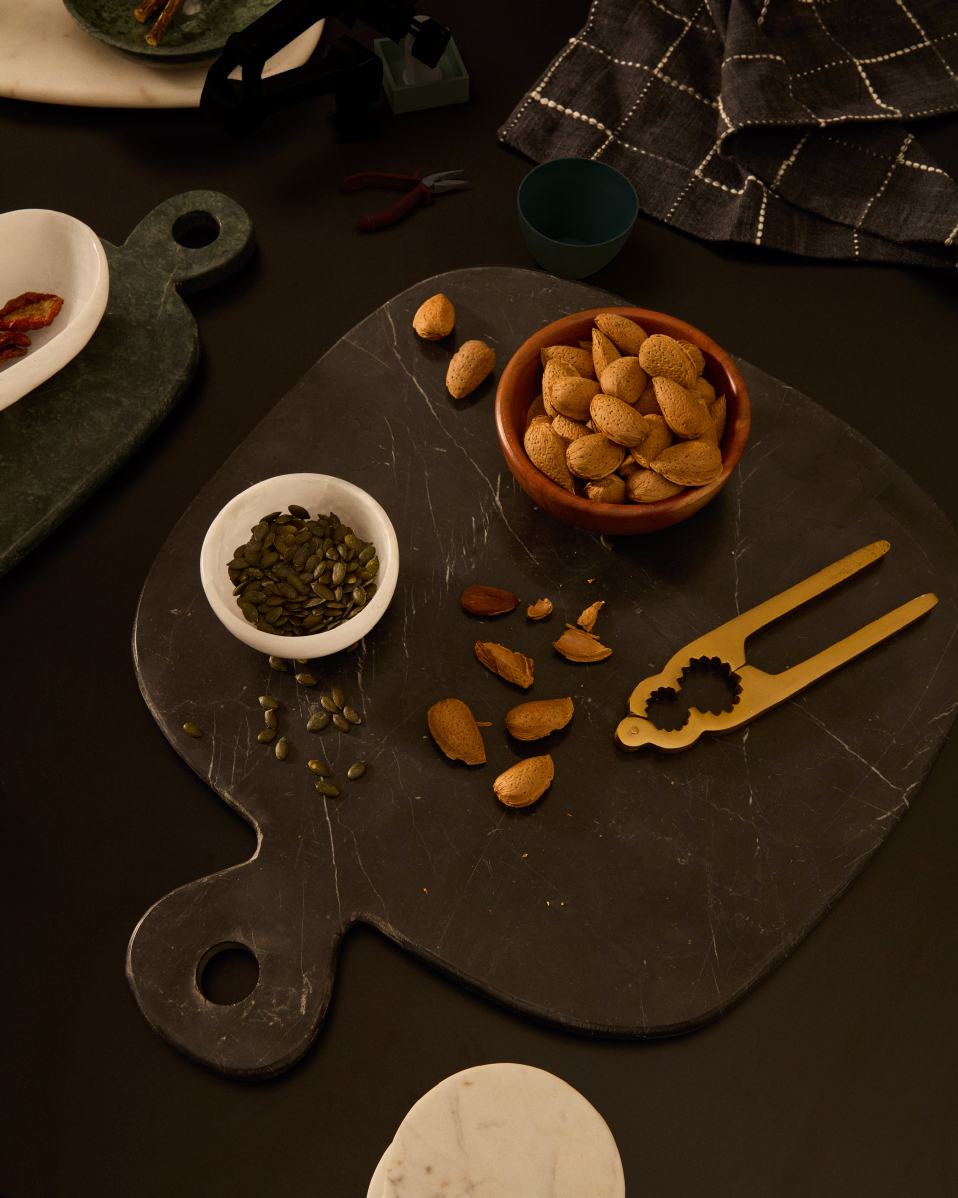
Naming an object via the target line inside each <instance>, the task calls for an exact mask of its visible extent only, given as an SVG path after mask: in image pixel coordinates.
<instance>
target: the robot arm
mask: <svg viewBox="0 0 958 1198" xmlns="http://www.w3.org/2000/svg"><path fill="white" fill-rule="evenodd" d="M418 2H419V0H280V1H279V2H278V3H276V4H275V5H274V6H272V7H270V8H269V9H268V10H267V11H265V12H264V13H263V14H262V15H260V16H259V17H258V18H256V19H255V20H254V21H252V22H251V23H250V24H249V25H247V26H246V27H245V28H243V29H242V30H241V31H234V32H232V33H230V34H229V36H227V39H226V41H225V44H224V47H223V50H222V53H221V55H220V56H218V58H217V59H216V60H215V61H214V62H213V64H211V66H209V68H208V70H207V73H206V77H205V80H204V84H203V87H202V90H201V92H200V97H199V111H200V113H201V114H202V116H204V118H206V119H207V120H208V121H210V122H211V123H212V124H213V125H215V126H216V127H217V128H218V129H220V130H221V131H222V132H223V133H225V134H226V135H227V136H229V137H230V138H231V139H233V140H242V139H245V138H247V137H248V136H250V135H252V134H253V133H255V132H257V131H258V130H260V129H261V128H262V126H263V124H264V123H265V121H266V119H267V117H268V116H270V115H272V114H275V113H278V112H281V111H284V110H287V109H290V108H292V107H294V106H298V105H300V104H303V103H306V102H309V101H312V100H314V99H317V98H320V97H322V96H325V95H329V94H333V95H334V102H335V110H336V112H335V113H333V114H332V119H333V120H332V121H333V122H334V126H335V129H336V132H337V134H338V138H339V140H340V141H341V142H346V141H352V140H358V139H363V138H368V137H374V136H377V135H378V130H377V127H376V124H375V121H374V119H373V116H372V112H371V106H372V105H374V104H375V103H377V102H378V101H380V96H381V90H382V86H383V83H382V80H383V75H384V71H383V69H384V68H383V61H382V59H381V58H380V57H379V56H378V55H376V54H375V51H373V50H371V49H370V48H368V47H367V46H365V45H364V44H363V43H361V42H360V41H358V39H355V38H354V37H352V36H349V35H347V34H346V33H344V34H343V35H341V36H340V37H338V38H332V39H331V38H330V39H329V40H328V44H327V45H328V49H327V50H326V52H325V54H324V56H323V57H322V58H320V59H317V60H313V61H311V62H308V63H305V64H301V65H298V66H296V67H293V68H290V69H286V70H283V71H281V72H278V73H275V74H272V75H269V76H266V77H263V78H262V75H263V72H264V68H265V66H266V62H268V61H269V60H270V59H272V58H273V57H275V55H276V54H278V53H279V52H281V50H283V49H284V48H286V47H287V46H288V45H289V44H291V43H292V42H293V41H295V40H296V39H297V38H299V37H300V36H301V35H302V34H304V33H305V32H306V31H308V30H309V29H311V28H312V27H313V26H314V25H315V24H317V23H318V22H320V21H322V20H324V19H336V20H337V21H338V22H339V23H341V24H342V25H344V26H345V27H346V28H348V29H349V30H353V28H354V27H355V24H356V22H357V20H359V21H360V22H362V23H363V24H364V25H366V26H368V27H371V28H372V29H374V30H375V31H376V32H378V33H379V34H380V35H382V36H385V38H389V39H391V40H392V41H393V42H395V43H397V44H399V42H400V40H401V38H402V39H405V37H406V35H408V33H410V34H411V35H413V36H414V37H416V39H415V42H414V44H413V46H412V48H411V50H412V56H413V57H415V58H416V59H417V60H419V61H420V62H422V63H423V64H425V65H426V66H428V67H429V68H431V69H433V68H436V66H437V64H438V62H439V60H440V58H441V56H442V54H443V52H444V50H445V48H446V46H447V44H448V42H449V40H450V38H451V35H452V32H451V30H450V29H449V30H448V29H446V28H447V27H445V26H443V25H442V24H440V23H439V22H437V21H436V20H434V19H433V18H432V17H430V18H429V19H428V20H425V21H423V22H419V21H418V20H416V19H415V18H413V17H415V16H416V14H417V12H418V10H419V9H418V8H417V7H416V6H414V5H415V4H417V3H418ZM411 24H412V25H413V26H415V27H416V28H417V29H419V31H418V30H416V29H415V28H413V27H412V26H411ZM238 66H239V67H241V71H240V72H241V79H237V78H230V77H229V76H230V75H231V74H232V72H234V71H235V69H236V68H237V67H238Z"/></svg>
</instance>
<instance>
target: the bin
mask: <svg viewBox="0 0 958 1198" xmlns="http://www.w3.org/2000/svg"><path fill="white" fill-rule="evenodd" d="M445 28H446V29H448V30H449V31H450V28H449V27H445ZM407 37H408V35H406V37H405V39H402V38H401V40H400V42H399V44H397V43H395V42H393V41H392V40H391V39H389V38H388V37H381V38H375V39H373V47H374V49H373V50H374V53H375V54H376V55H378V56H379V57H380V58H381V59H382V61H383V68H384V69H383V71H384V75H383V80H382V86H383V88H384V91H385V94H386V96H387V99H388V102H389V105H390V107H391V111H392V114H393V115H398V114H405V113H410V112H411V113H412V112H416V111H423V110H427V109H433V108H439V107H444V106H450V105H455V104H456V105H457V104H462V103H466V102H469V101H470V76H469V74H468V72H467V71H468V70H467V68H466V67H465V63H464V61H463V59H462V57H461V54H460V52H459V50H458V47H457V45H456V42H455V40H454V37H453V36H452V34H451V38H450V40H449V42H448V44H447V46H446V48H445V50H444V52H443V54H442V56H441V58H440V60H439V69H440V70H441V72H442V76H443V78H442V79H441V80H435V81H429V82H424V83H418V84H412V85H406V83H405V82H404V80H403V73H404V71H405V69H406V59H405V40H406V39H407Z"/></svg>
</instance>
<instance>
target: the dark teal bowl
mask: <svg viewBox="0 0 958 1198" xmlns="http://www.w3.org/2000/svg"><path fill="white" fill-rule="evenodd" d="M517 190H518V191H517V196H516V197H517V198H516V209H517V210H516V211H517V218H518V224H519V228H520V232H521V235H522V239H523V241H524V243H525V246H526V248H527V249H528V251H529V253H530V255H531V256H532V258H533V259H534V260H535V261H536V263H537V264H539V266H540V267H542V268H543V269H544V270H545V271H546V272H547V273H549V274H550V275H551V276H553V275H555V276H554V277H556V276H557V277H556V278H558V277H560V278H559V279H561V278H563V279H562V280H565V279H566V280H567V281H575V280H581V279H584V278H586V277H589V276H591V275H594V274H595V273H597V272H599V271H600V270H602V269H603V268H605V267H606V266H607V265H608V264H610V262H611V261H613V260H614V258H615V257H617V255H618V254H619V252H620V251H621V250H622V248H623V247H624V245H625V244H626V242H627V241H628V239H629V237H630V235H631V233H632V231H633V229H634V226H635V224H636V221H637V218H638V213H639V207H640V206H639V197H638V193H637V190H636V188H635V187H634V185H633V183H632V182H631V181H630V180H629V178H627V177H626V176H625V174H623V172H621V171H619V170H618V169H617V168H615V167H613V166H612V165H609V164H607V163H605V162H604V161H600V160H597V159H593V158H588V157H582V156H564V157H558V158H553V159H550V160H547V161H544V162H542V163H541V164H539V165H537V166H535V167H534V168H532V169H531V170H530V171H529V172H527V174H526V175H525V176H524V177H523V179H522V181H521V182H520V184H519V187H518V189H517Z"/></svg>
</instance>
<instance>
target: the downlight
mask: <svg viewBox="0 0 958 1198" xmlns="http://www.w3.org/2000/svg"><path fill="white" fill-rule="evenodd" d="M412 17H413V16H412ZM413 18H415V19H416V20H418V21H419V22H423V21H425V20H428V19H429V18H431V17H429V16H428V15H415V16H414V17H413ZM411 26H412V27H413V28H415V29H416V30H418V31H419V29H417V28H416V27H415V26H413V25H412V24H411ZM415 39H416V37H414V36H413V35H411V34H410V33H408V37H407V39H406V40H405V59H406V69H405V71H404V73H403V80H404V82H405V83H406V85H412V84H418V83H424V82H429V81H435V80H441V79H442V78H443V76H442V72H441V70H440V69H439V62H438V64H437V66H436V68H433V69H431V68H429V67H428V66H426V65H425V64H423V63H422V62H420V61H419V60H417V59H416V58H415V57H413V56H412V50H411V48H412V46H413V44H414V42H415Z"/></svg>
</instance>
